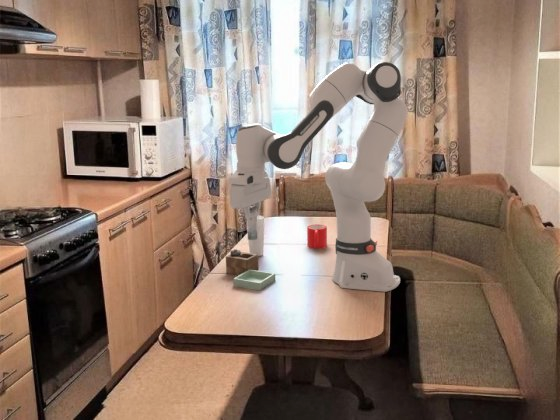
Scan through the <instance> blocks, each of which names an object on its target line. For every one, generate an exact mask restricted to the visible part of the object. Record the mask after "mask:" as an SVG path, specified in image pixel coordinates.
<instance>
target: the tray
mask: <svg viewBox="0 0 560 420" xmlns="http://www.w3.org/2000/svg"><path fill="white" fill-rule="evenodd" d="M232 280H233V282H232V283H233V286H234V287H238V288H239V287H240V288H244V289H249V290H256V291H262V290H263V289H265V288H266V287H268V286H269V285H271V284H273V283H274V282H275V281H276V273H274V272H268V271H261V270H258V271H256V270H250V269H249V270H248V271H246V272H244V273H242V274H241V275H237V276H235V277H234V278H233V279H232Z"/></svg>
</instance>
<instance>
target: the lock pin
mask: <svg viewBox="0 0 560 420" xmlns="http://www.w3.org/2000/svg"><path fill="white" fill-rule="evenodd" d="M250 213H252V218H250V219H246V231H247V230H248V233H247V240H248V239H249V240H256V239H257V207H256V206H254V205H250Z"/></svg>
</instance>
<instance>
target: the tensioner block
mask: <svg viewBox="0 0 560 420" xmlns="http://www.w3.org/2000/svg"><path fill="white" fill-rule="evenodd" d="M229 253H230V254H229V255H226V256H225V269H226V270H225V271H226V273H227V274H232V275H237V276H239V275H241V274H242V273H244V272H246V271H248V270H249V269H250V270H256V271H259V256H258V254H252V253H250V252H244V251H242V250H241V249H237V248H235V249H232V250H230V252H229Z"/></svg>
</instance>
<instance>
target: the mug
mask: <svg viewBox="0 0 560 420" xmlns="http://www.w3.org/2000/svg"><path fill="white" fill-rule="evenodd" d="M306 228H307V230H306V232H307V233H306V235H307V247H308V248H311V249H324V248H327V245H328V233H327V232H328V231H327V230H328V227H327V225H324V224H310V225H308V226H307V227H306Z"/></svg>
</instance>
